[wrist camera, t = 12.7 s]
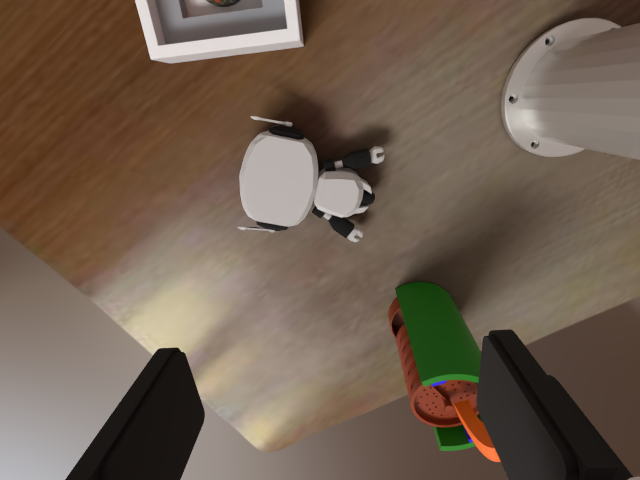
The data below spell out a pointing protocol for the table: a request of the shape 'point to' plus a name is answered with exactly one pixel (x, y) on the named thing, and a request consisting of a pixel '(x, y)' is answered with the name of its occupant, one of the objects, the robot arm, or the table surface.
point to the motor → (440, 366)
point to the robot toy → (302, 182)
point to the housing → (218, 28)
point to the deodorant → (223, 2)
